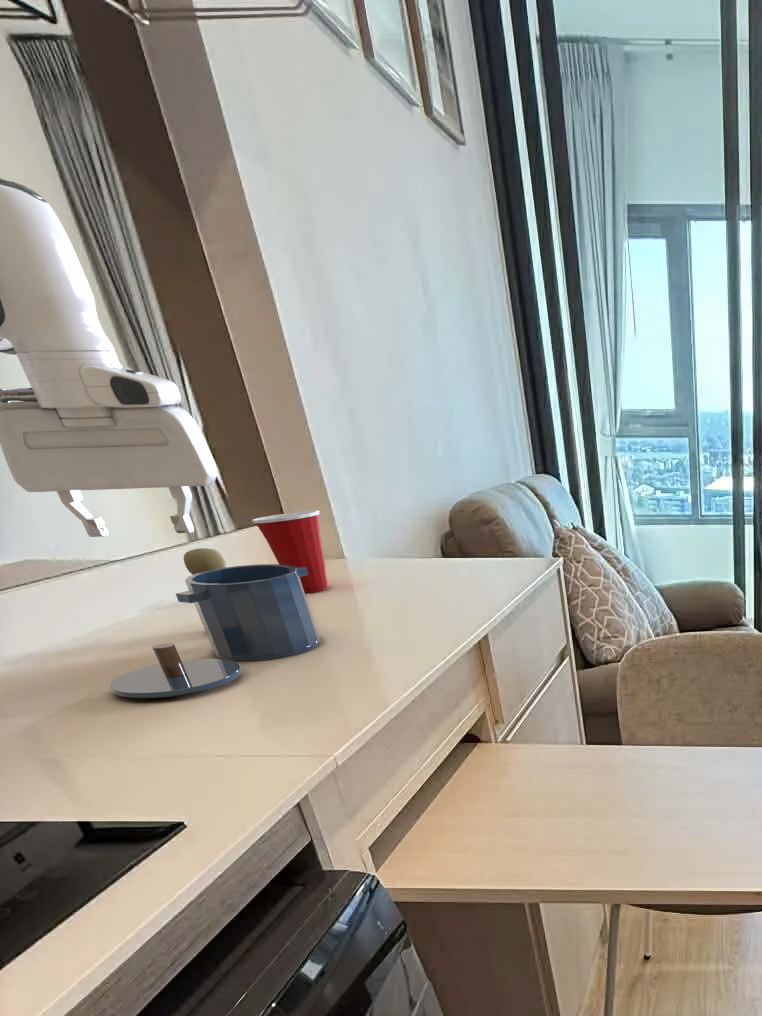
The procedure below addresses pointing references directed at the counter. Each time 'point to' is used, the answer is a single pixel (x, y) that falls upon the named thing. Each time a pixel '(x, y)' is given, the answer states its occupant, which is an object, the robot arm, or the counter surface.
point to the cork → (203, 560)
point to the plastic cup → (297, 545)
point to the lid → (174, 676)
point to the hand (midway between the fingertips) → (142, 534)
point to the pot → (253, 611)
